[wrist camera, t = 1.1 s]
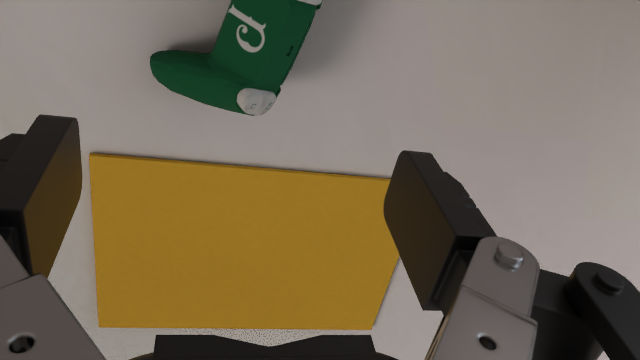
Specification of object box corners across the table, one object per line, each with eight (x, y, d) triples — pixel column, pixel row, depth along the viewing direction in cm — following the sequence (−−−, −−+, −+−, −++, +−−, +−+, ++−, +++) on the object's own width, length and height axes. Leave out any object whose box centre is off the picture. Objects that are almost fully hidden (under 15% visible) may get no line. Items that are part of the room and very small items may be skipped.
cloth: (425, 181, 32) (426, 184, 32) (370, 326, 39) (371, 330, 39) (90, 152, 27) (89, 155, 27) (99, 324, 35) (98, 327, 34)
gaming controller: (193, 71, 27) (271, 133, 26) (137, 72, 24) (221, 143, 22) (258, -101, 23) (356, -42, 21) (200, -128, 20) (309, -61, 18)
